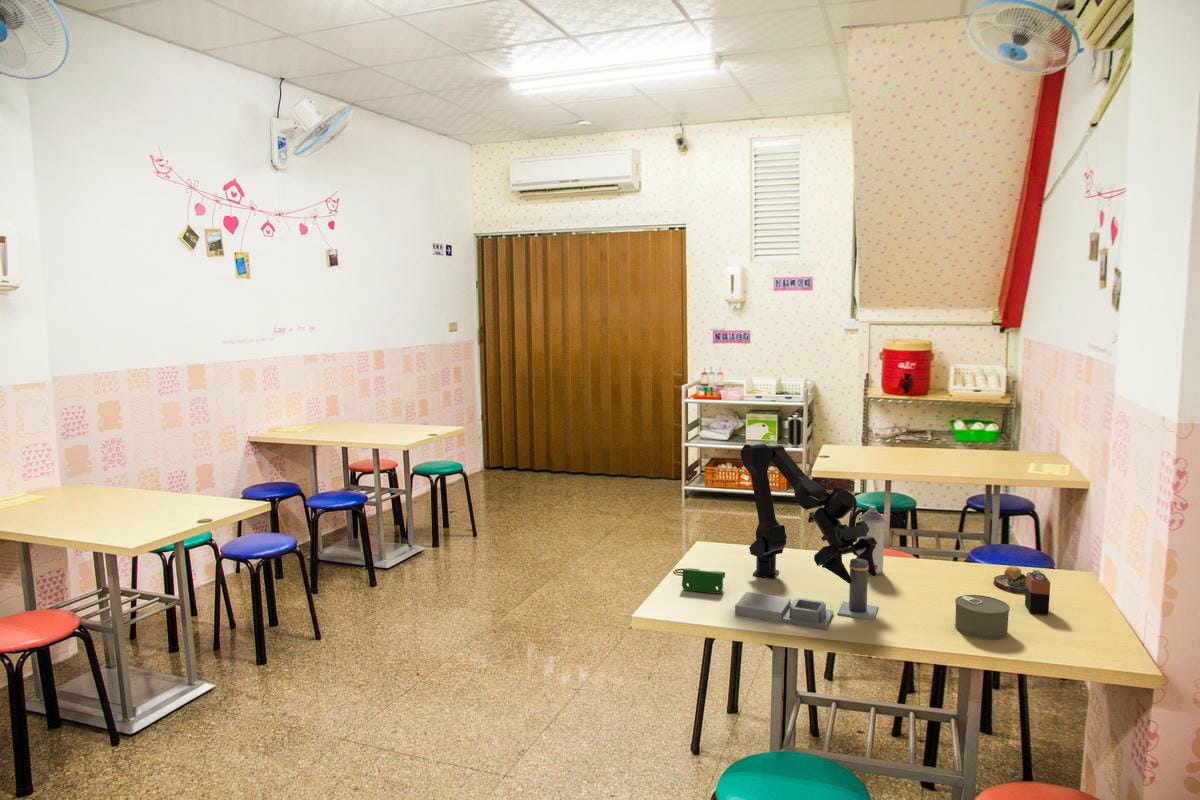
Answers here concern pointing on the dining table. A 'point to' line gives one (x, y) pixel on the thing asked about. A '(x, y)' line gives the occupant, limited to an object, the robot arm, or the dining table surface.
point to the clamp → (702, 580)
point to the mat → (868, 614)
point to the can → (981, 617)
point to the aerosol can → (875, 536)
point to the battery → (1037, 593)
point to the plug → (858, 585)
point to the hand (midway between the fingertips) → (863, 579)
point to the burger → (1011, 580)
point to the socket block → (784, 610)
